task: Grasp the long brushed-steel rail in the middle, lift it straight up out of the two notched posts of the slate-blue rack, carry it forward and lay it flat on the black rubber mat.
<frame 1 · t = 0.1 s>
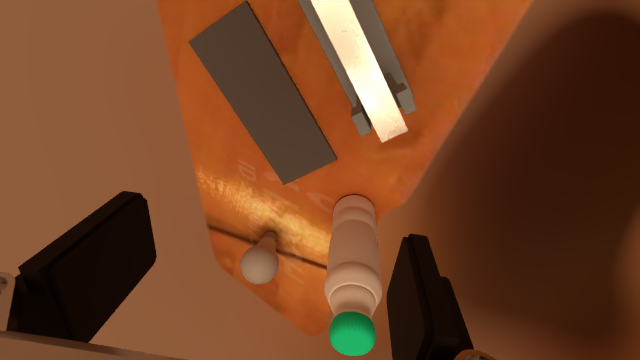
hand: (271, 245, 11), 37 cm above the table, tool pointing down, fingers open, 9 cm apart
mat: (268, 103, 47), on the table
rack: (347, 25, 41), on the table
rail: (344, 28, 32), point 10 cm above the table, touching rack
water bottle: (354, 210, 54), on the table
lightbulb: (271, 233, 58), on the table
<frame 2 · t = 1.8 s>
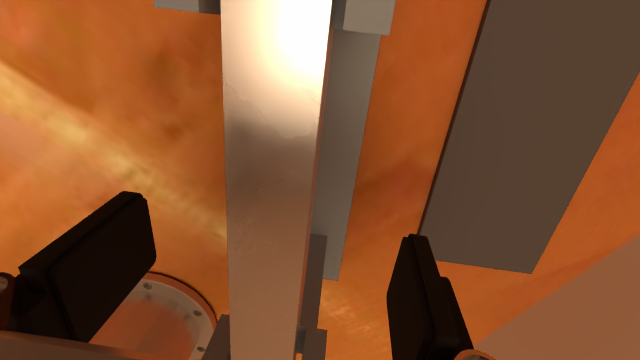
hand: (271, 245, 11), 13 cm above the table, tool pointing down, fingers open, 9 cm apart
mat: (527, 120, 22), on the table
rack: (307, 139, 24), on the table
rail: (281, 207, 15), point 10 cm above the table, touching rack
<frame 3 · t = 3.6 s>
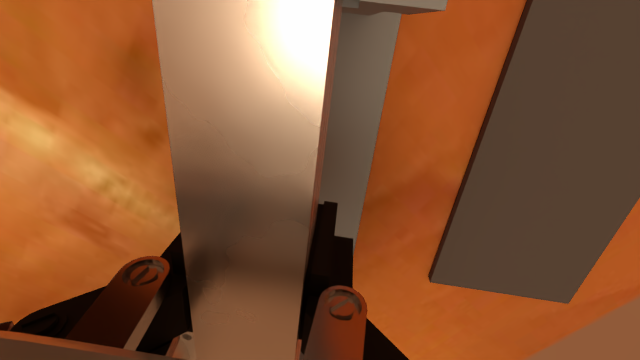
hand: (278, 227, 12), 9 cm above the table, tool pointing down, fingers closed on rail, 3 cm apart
mat: (575, 127, 18), on the table
rack: (308, 148, 20), on the table
rail: (270, 249, 11), point 10 cm above the table, touching gripper, rack
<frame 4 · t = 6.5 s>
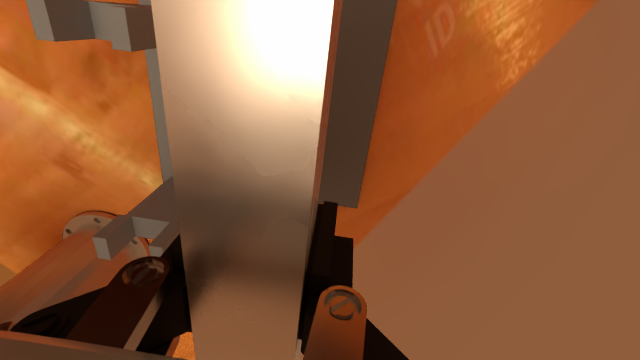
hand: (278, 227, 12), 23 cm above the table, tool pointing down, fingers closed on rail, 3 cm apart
mat: (328, 98, 33), on the table
rack: (192, 111, 35), on the table
rail: (270, 248, 11), point 25 cm above the table, touching gripper
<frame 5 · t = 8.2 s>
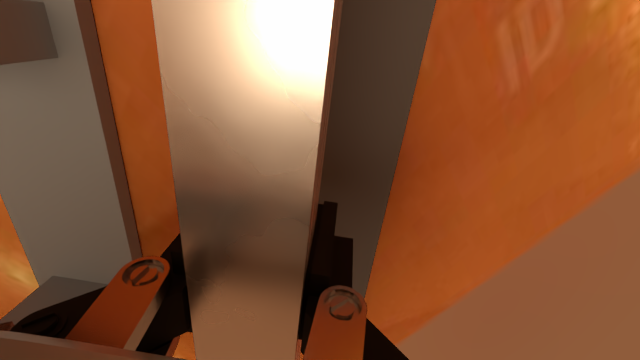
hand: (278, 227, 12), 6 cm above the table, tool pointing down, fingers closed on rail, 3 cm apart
mat: (303, 163, 18), on the table
rack: (68, 180, 20), on the table
rail: (270, 248, 11), point 8 cm above the table, touching gripper
when the fingers open (1 cm above the table, at t = 9.5 s): rail drops 2 cm, resting on mat.
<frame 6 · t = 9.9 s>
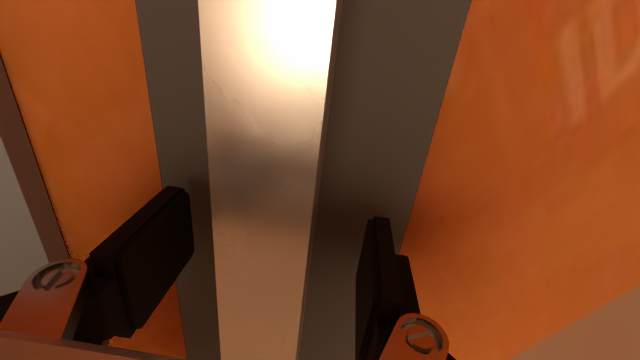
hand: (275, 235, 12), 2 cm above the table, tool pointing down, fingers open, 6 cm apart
mat: (284, 211, 13), on the table
rail: (279, 219, 13), point 1 cm above the table, touching mat
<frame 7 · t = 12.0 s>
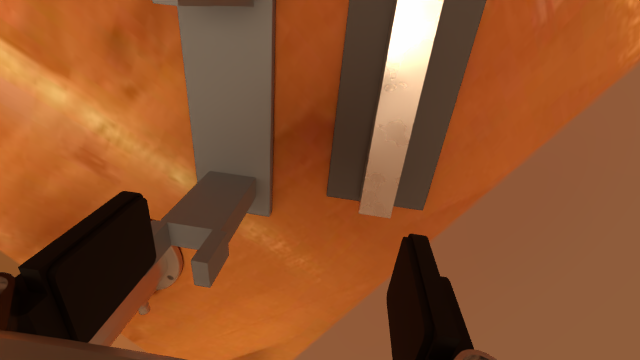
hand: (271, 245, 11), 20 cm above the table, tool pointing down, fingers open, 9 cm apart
mat: (399, 78, 27), on the table
rack: (232, 97, 30), on the table
rail: (398, 79, 27), point 1 cm above the table, touching mat
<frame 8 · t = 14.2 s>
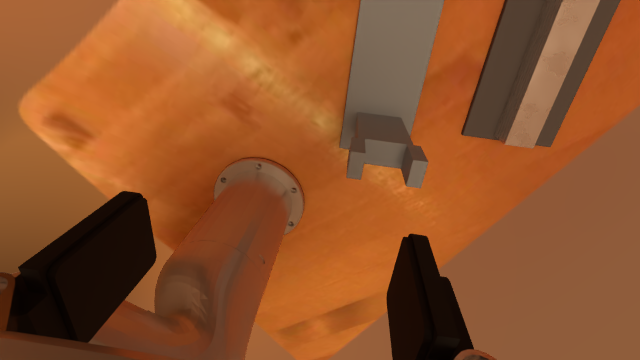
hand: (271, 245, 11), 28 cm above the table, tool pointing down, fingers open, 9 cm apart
mat: (551, 20, 31), on the table
rack: (393, 40, 33), on the table
rail: (553, 21, 31), point 1 cm above the table, touching mat
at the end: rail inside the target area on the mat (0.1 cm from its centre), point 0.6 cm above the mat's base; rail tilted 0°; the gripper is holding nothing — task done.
